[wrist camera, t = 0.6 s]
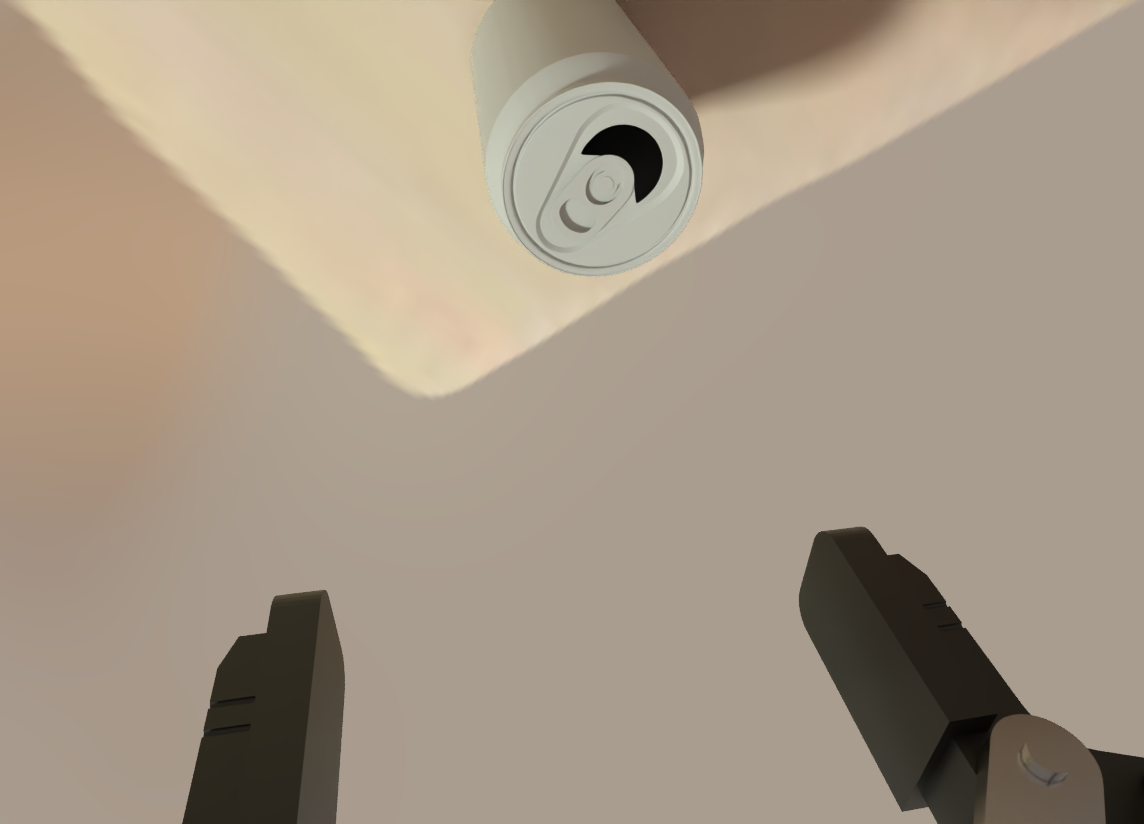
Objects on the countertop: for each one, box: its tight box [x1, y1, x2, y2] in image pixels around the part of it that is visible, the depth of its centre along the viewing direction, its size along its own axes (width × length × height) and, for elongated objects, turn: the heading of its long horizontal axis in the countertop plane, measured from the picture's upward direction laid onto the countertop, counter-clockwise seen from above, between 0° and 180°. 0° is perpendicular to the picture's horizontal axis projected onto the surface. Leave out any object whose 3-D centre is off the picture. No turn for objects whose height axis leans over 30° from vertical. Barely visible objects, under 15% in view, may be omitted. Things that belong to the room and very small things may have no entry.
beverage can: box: [471, 0, 704, 277], centre depth 26 cm, size 6×6×12 cm
